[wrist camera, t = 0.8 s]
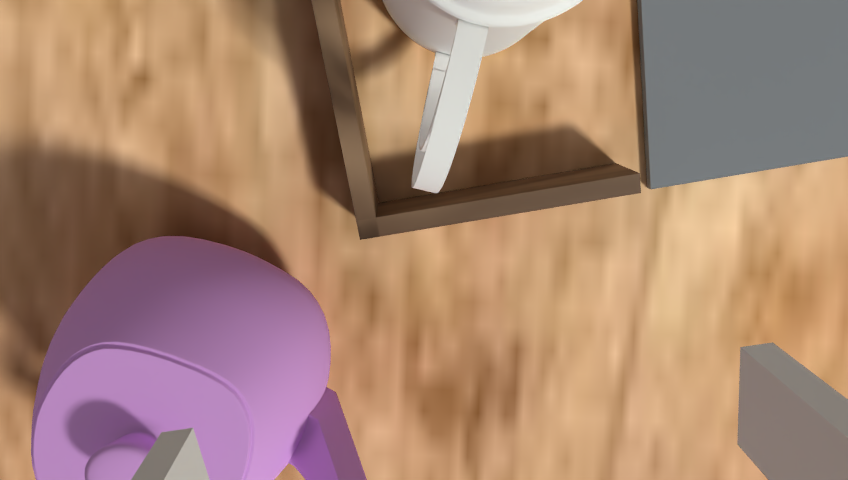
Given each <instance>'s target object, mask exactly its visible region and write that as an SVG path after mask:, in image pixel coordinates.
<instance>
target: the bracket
mask: <svg viewBox="0 0 848 480" xmlns="http://www.w3.org/2000/svg"><path fill="white" fill-rule="evenodd" d="M311 1H312V6H313V11H314V16H315V21H316V26H317V30H318V35H319V40H320V45H321V50H322V55H323V60H324V65H325V70H326V75H327V79H328V84H329V89H330V94H331V99H332V104H333V109H334V114H335V119H336V124H337V129H338V133H339V138H340V143H341V148H342V153H343V158H344V163H345V168H346V173H347V178H348V182H349V187H350V192H351V197H352V202H353V207H354V212H355V217H356V222H357V227H358V231H359V236H360V240H361V239H367V238H373V237H379V236H385V235H391V234H397V233H403V232H409V231H415V230H421V229H427V228H433V227H439V226H445V225H451V224H457V223H463V222H469V221H475V220H481V219H487V218H493V217H499V216H505V215H511V214H517V213H523V212H529V211H535V210H541V209H547V208H553V207H559V206H565V205H571V204H577V203H583V202H589V201H595V200H601V199H607V198H613V197H619V196H625V195H631V194H637V193H641V188H640V173H638V172H635V171H633V170H631V169H628V168H626V167H623V166H621V165H619V164H616V163H615V164H609V165H603V166H597V167H591V168H585V169H579V170H573V171H567V172H561V173H555V174H549V175H543V176H537V177H531V178H525V179H519V180H513V181H507V182H501V183H495V184H489V185H483V186H477V187H471V188H465V189H460V190H454V191H448V192H442V193H436V194H430V195H424V196H418V197H412V198H406V199H400V200H394V201H388V202H382V203H379V202H378V196H377V191H376V186H375V181H374V175H373V170H372V165H371V160H370V154H369V149H368V144H367V139H366V133H365V128H364V123H363V118H362V112H361V107H360V102H359V97H358V91H357V86H356V81H355V76H354V70H353V65H352V60H351V55H350V49H349V44H348V39H347V34H346V28H345V23H344V18H343V13H342V7H341V2H340V0H311Z"/></svg>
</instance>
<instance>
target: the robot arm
mask: <svg viewBox="0 0 848 480" xmlns="http://www.w3.org/2000/svg"><path fill="white" fill-rule="evenodd" d="M738 445H739V447H740V448H741V449H742V450H743V451H744V452H745V453H746V455H747V456H748V457H749V458H750V459H751V460H752V461H753V463H754V464H755V465H756V466H757V467H758V468H759V469H760V471H761V472H762V473H763V474H764V475H765V476H766V477H767V479H768V480H848V399H846V398H845V397H844V396H842V395H841V394H840V393H838V392H837V391H836V390H834V389H833V388H832V387H830V386H829V385H828V384H827V383H825V382H824V381H823V380H821V379H820V378H819V377H817V376H816V375H815V374H813V373H812V372H811V371H809V370H808V369H807V368H805V367H804V366H803V365H802V364H800V363H799V362H798V361H796V360H795V359H794V358H792V357H791V356H790V355H788V354H787V353H786V352H784V351H783V350H782V349H780V348H779V347H778V346H776V345H775V344H774V343H767V344H760V345H753V346H746V347H741V350H740V381H739V413H738ZM131 480H209V476H208V473H207V470H206V467H205V464H204V461H203V457H202V454H201V451H200V448H199V445H198V441H197V438H196V435H195V432H194V429H193V428H187V429H180V430H174V431H167V432H161V434H160V435H159V437H158V438H157V440H156V441H155V443H154V445H153V446H152V448H151V449H150V451H149V452H148V454H147V456H146V457H145V459H144V460H143V462H142V463H141V465H140V467H139V468H138V470H137V471H136V473H135V474H134V476H133V477H132V479H131Z"/></svg>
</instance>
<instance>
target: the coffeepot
mask: <svg viewBox="0 0 848 480" xmlns="http://www.w3.org/2000/svg"><path fill="white" fill-rule="evenodd" d="M382 1H383V3H384V5H385V7H386V9H387V11H388V12H389V14H390V16H391V17H392V19H393V20H394V22H395V23H396V24H397V25H398V27H399V28H400V29H401V30H402V31H403V32H404V33H405V34H406V35H407V36H408V37H409V38H411V39H412V40H413V41H415V42H416V43H417V44H419V45H421V46H422V47H424V48H426V49H428V50H430V51H432V52H434V53H435V60H434V65H433V69H432V74H431V78H430V83H429V88H428V92H427V97H426V102H425V107H424V111H423V116H422V121H421V126H420V131H419V137H418V142H417V148H416V153H415V159H414V166H413V173H412V188H415V189H420V190H424V191H428V192H432V193H438V192H439V191H440V189H441V188H442V186H443V184H444V182H445V180H446V177H447V175H448V172H449V169H450V167H451V164H452V161H453V158H454V155H455V152H456V149H457V146H458V143H459V140H460V136H461V133H462V130H463V126H464V123H465V119H466V116H467V112H468V109H469V105H470V101H471V98H472V94H473V90H474V86H475V83H476V79H477V75H478V71H479V67H480V63H481V59H482V57H484V56H488V55H491V54H494V53H497V52H500V51H502V50H504V49H506V48H508V47H510V46H512V45H513V44H515V43H516V42H518V41H519V40H520V39H522V38H523V37H524V36H526V35H527V34H528V33H529V32H531V31H532V30H533V29H535V28H536V27H537V26H538V25H540V24H541V23H542V22H544V21H545V20H548V19H551V18H553V17H555V16H558V15H560V14H562V13H564V12H566V11H567V10H569V9H571V8H572V7H574V6H575V5H577V4H578V3H580V2H581V1H582V0H382Z"/></svg>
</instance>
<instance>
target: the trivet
mask: <svg viewBox="0 0 848 480" xmlns="http://www.w3.org/2000/svg"><path fill="white" fill-rule="evenodd" d="M637 3H638V22H639V41H640V60H641V79H642V98H643V117H644V136H645V156H646V175H647V188H649V189H655V188H661V187H667V186H673V185H679V184H685V183H691V182H697V181H703V180H709V179H715V178H721V177H727V176H733V175H739V174H745V173H751V172H757V171H763V170H769V169H775V168H781V167H787V166H793V165H799V164H805V163H811V162H817V161H823V160H829V159H835V158H841V157H847V156H848V0H637Z"/></svg>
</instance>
